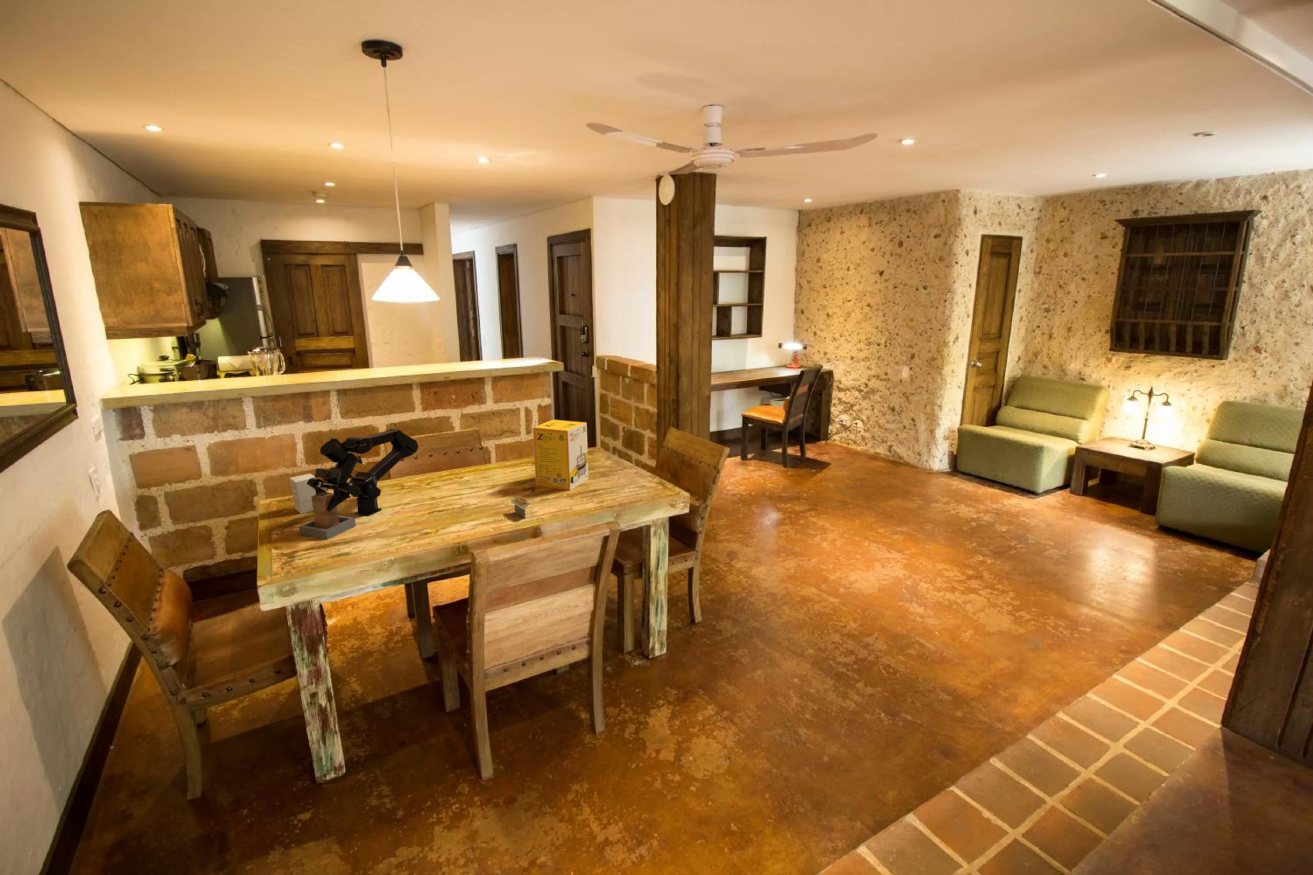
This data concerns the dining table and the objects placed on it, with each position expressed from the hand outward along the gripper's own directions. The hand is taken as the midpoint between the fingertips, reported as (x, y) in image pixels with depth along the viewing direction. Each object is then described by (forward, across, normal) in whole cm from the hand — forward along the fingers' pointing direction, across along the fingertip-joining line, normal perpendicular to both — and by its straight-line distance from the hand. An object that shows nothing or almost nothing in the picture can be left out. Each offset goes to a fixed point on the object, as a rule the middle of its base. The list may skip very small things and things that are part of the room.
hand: (321, 509), depth 203 cm
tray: (+5, 0, +7) cm, 8 cm away
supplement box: (-4, -24, +16) cm, 29 cm away
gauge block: (+4, 0, +6) cm, 7 cm away
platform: (-19, +55, +32) cm, 66 cm away
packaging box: (-46, +52, +58) cm, 90 cm away
